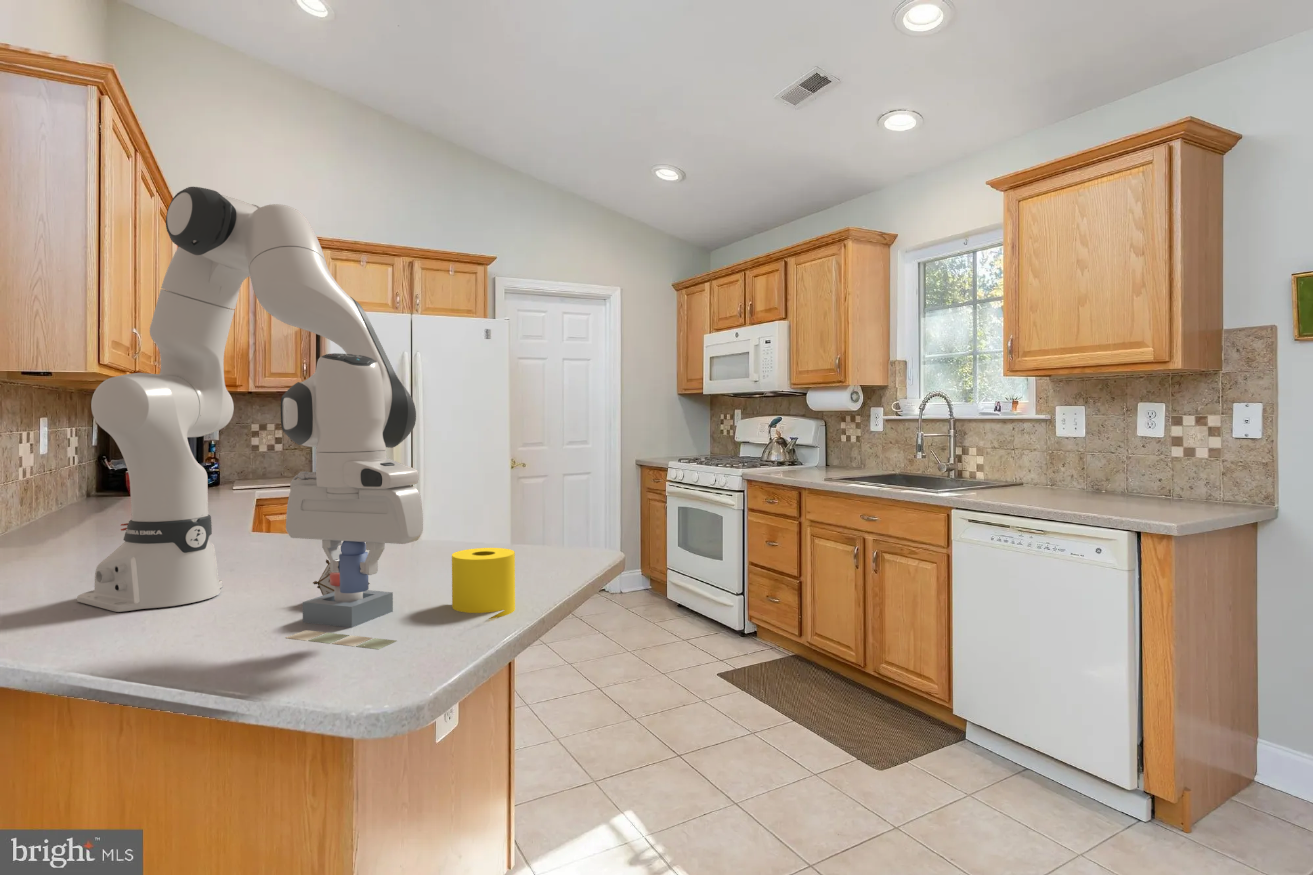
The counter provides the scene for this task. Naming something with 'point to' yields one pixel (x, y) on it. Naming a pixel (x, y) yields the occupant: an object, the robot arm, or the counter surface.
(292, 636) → the track board
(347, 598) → the plunger
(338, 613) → the base
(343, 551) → the pawn
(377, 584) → the counter surface
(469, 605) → the yellow hollow cylinder
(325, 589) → the game die
